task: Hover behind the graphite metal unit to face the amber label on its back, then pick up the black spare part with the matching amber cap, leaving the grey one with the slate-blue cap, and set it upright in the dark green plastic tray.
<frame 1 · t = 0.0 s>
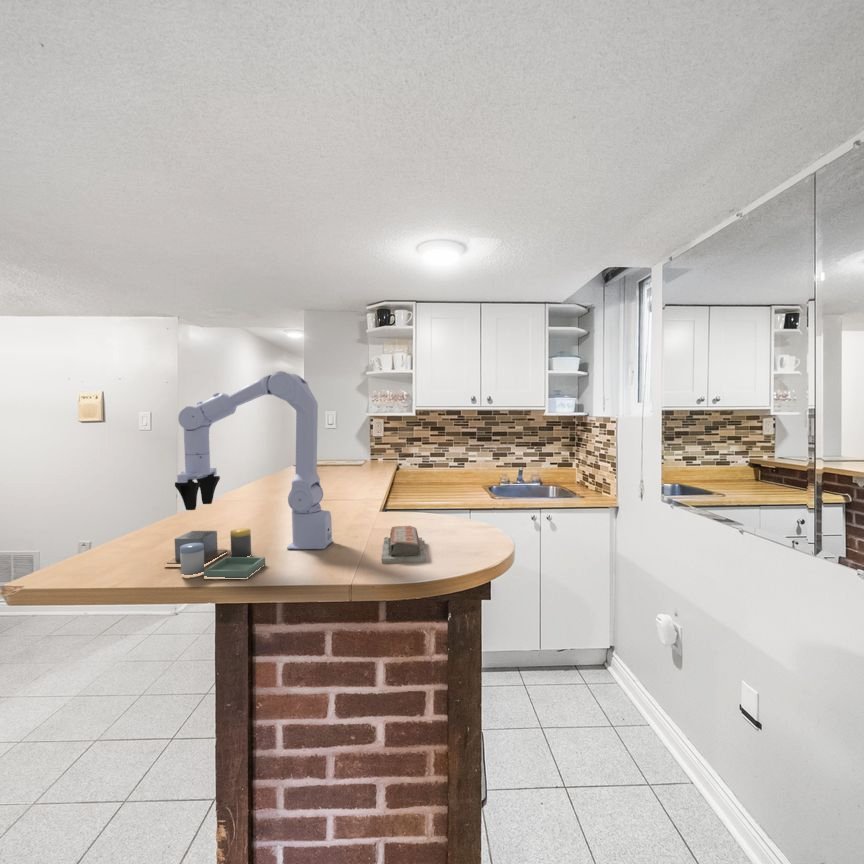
hand: (199, 506, 119), 10 cm above the countertop, tool pointing down, fingers open, 7 cm apart
packaged product: (403, 553, 112), on the countertop
blue part: (193, 574, 97), on the countertop
amber part: (241, 556, 110), on the countertop
parts tray: (235, 572, 98), on the countertop
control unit: (197, 560, 107), on the countertop
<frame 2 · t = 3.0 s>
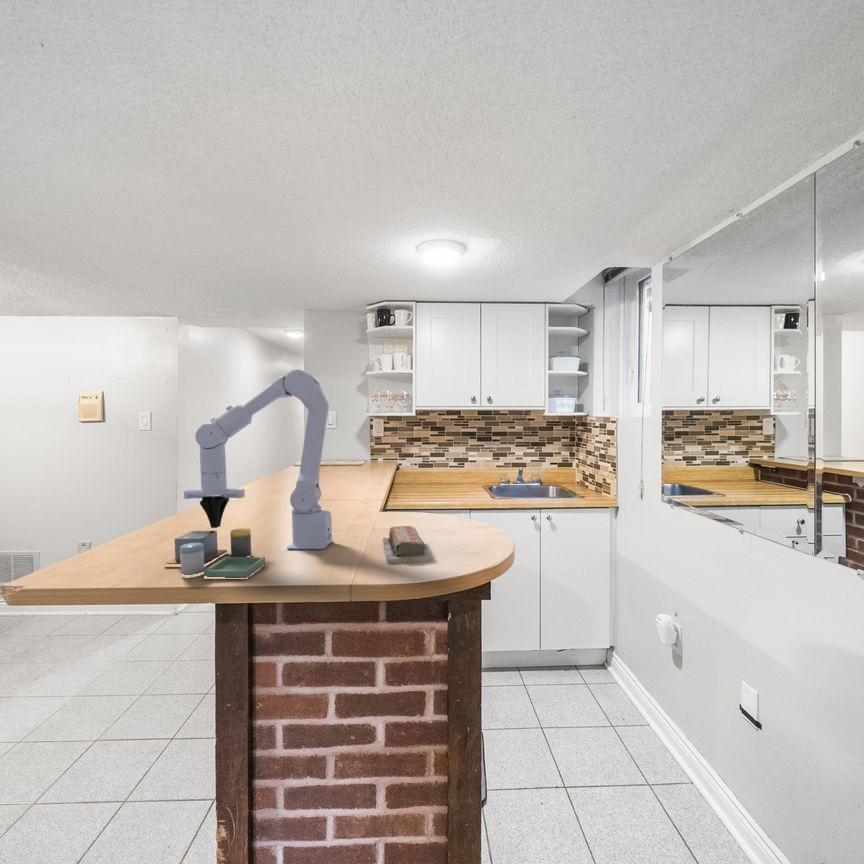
hand: (215, 527, 115), 6 cm above the countertop, tool pointing down, fingers closed
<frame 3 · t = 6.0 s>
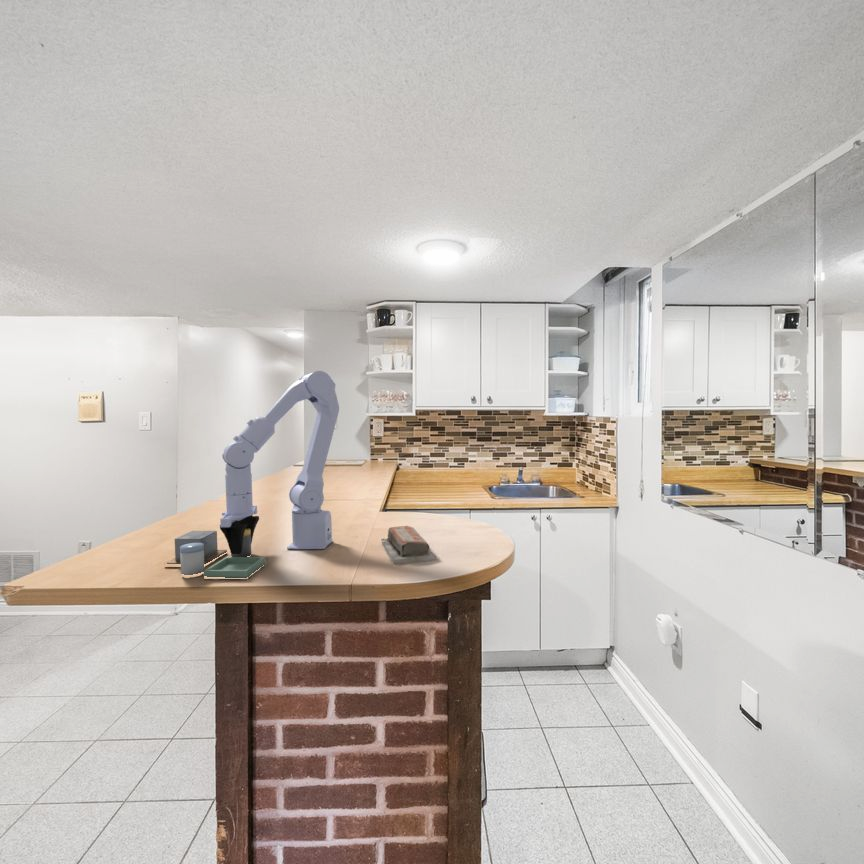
hand: (241, 550, 110), 1 cm above the countertop, tool pointing down, fingers closed on amber part, 4 cm apart
amber part: (241, 556, 110), on the countertop, touching gripper
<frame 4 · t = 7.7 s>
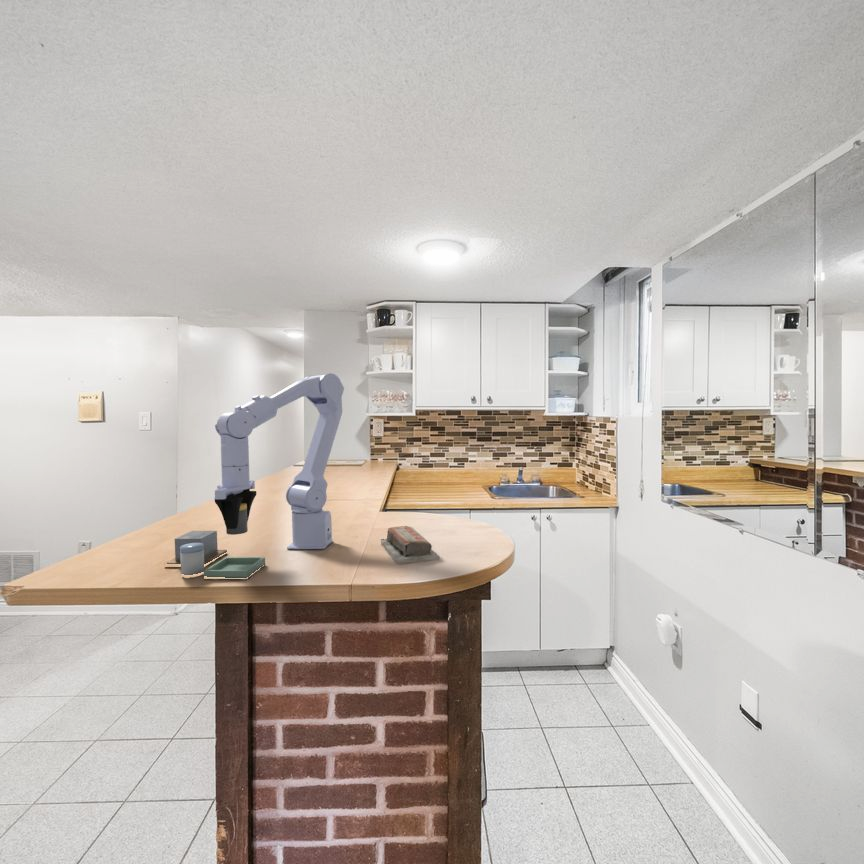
hand: (237, 525, 104), 8 cm above the countertop, tool pointing down, fingers closed on amber part, 4 cm apart
amber part: (237, 532, 104), point 7 cm above the countertop, touching gripper
when the fingers open (4 cm above the countertop, at t = 9.5 s): amber part drops 1 cm, resting on parts tray.
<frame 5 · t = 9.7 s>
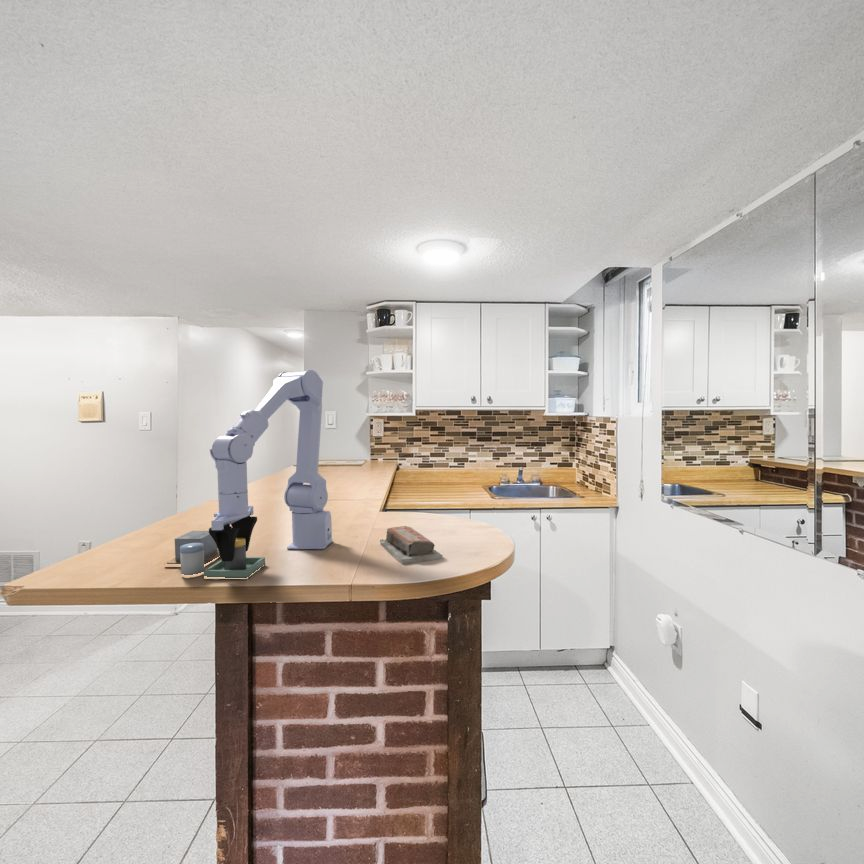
hand: (235, 555, 98), 4 cm above the countertop, tool pointing down, fingers open, 6 cm apart
amber part: (235, 569, 98), point 1 cm above the countertop, touching parts tray
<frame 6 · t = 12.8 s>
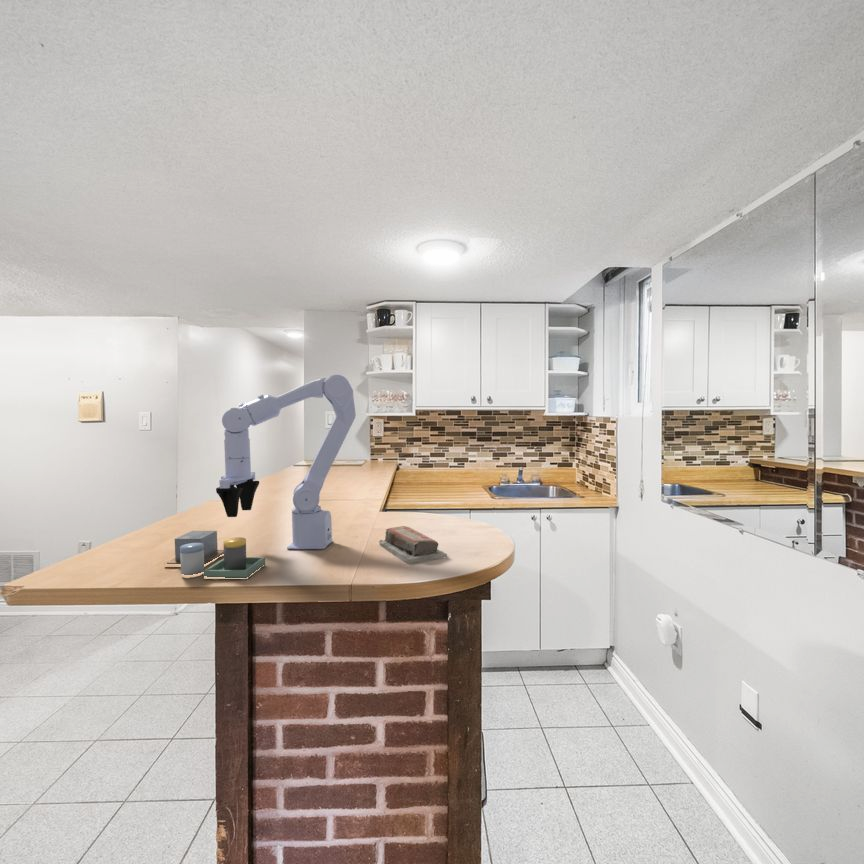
hand: (239, 513, 113), 9 cm above the countertop, tool pointing down, fingers open, 7 cm apart
at the end: amber part 0.1 cm off-centre on the parts tray, point 0.6 cm above the parts tray's base; amber part tilted 1°; blue part moved 0.0 cm from its start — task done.
